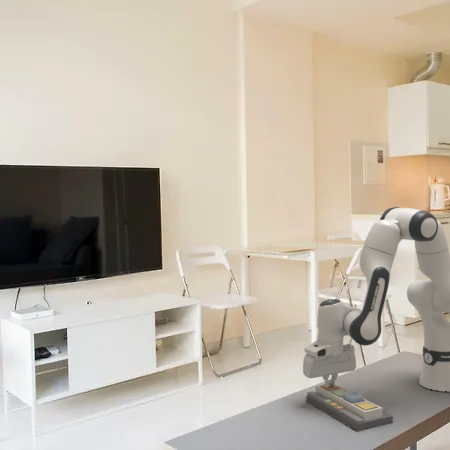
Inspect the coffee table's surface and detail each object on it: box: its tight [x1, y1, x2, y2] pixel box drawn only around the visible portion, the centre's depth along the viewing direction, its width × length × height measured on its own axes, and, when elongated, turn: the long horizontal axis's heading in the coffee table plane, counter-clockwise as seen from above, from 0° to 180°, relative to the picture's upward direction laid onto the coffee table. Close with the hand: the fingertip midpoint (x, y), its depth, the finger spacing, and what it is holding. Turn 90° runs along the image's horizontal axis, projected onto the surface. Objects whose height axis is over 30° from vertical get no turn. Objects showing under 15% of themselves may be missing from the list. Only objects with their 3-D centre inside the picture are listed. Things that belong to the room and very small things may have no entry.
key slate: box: [344, 391, 364, 404], centre depth 175 cm, size 4×4×2 cm
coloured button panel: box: [305, 383, 394, 432], centre depth 178 cm, size 14×27×5 cm, turn 26°
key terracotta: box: [320, 384, 339, 391], centre depth 186 cm, size 4×4×2 cm
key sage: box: [332, 390, 348, 397], centre depth 181 cm, size 4×4×2 cm
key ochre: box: [356, 402, 376, 411], centre depth 170 cm, size 4×4×2 cm
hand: (330, 386), depth 186 cm, fingers closed
